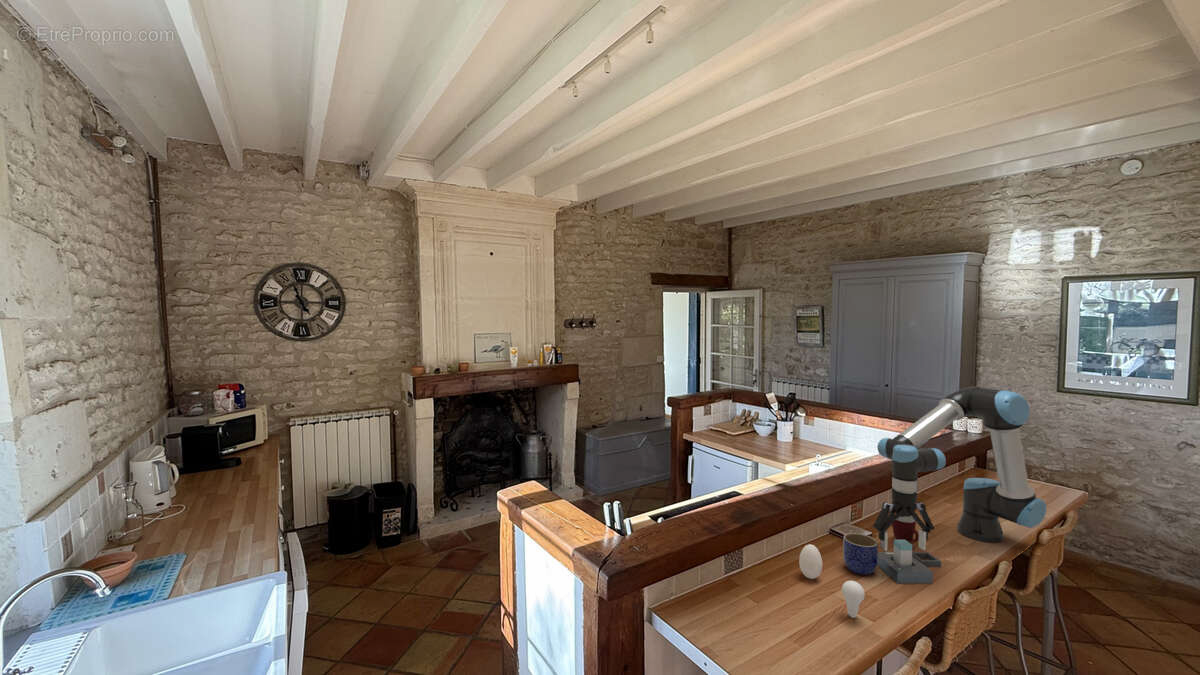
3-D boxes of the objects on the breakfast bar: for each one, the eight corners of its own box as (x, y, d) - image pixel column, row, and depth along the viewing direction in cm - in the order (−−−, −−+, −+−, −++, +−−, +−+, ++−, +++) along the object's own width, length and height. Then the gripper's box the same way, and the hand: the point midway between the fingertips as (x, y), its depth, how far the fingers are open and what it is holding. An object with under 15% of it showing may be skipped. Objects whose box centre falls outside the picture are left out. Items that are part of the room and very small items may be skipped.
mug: (926, 547, 190) (926, 522, 190) (912, 552, 187) (913, 526, 186) (899, 536, 200) (900, 512, 199) (886, 540, 196) (887, 516, 196)
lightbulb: (837, 611, 150) (837, 577, 149) (855, 610, 150) (856, 576, 150) (848, 624, 144) (849, 588, 143) (868, 623, 144) (869, 587, 144)
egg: (796, 579, 168) (797, 546, 167) (801, 570, 174) (802, 538, 173) (819, 586, 164) (820, 552, 163) (823, 576, 170) (824, 543, 169)
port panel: (906, 562, 179) (906, 550, 179) (932, 583, 165) (932, 570, 165) (873, 562, 179) (874, 551, 179) (897, 583, 165) (897, 571, 165)
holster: (927, 557, 183) (928, 552, 183) (941, 566, 176) (941, 561, 176) (909, 557, 183) (909, 552, 183) (921, 567, 176) (922, 561, 176)
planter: (873, 565, 177) (874, 535, 177) (880, 580, 167) (881, 548, 167) (840, 560, 181) (841, 530, 180) (845, 575, 171) (845, 544, 170)
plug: (904, 569, 174) (905, 539, 174) (911, 575, 170) (912, 544, 170) (893, 569, 174) (893, 539, 174) (900, 575, 170) (900, 544, 170)
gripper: (932, 485, 175) (930, 543, 176) (863, 486, 174) (862, 544, 175) (947, 493, 167) (945, 553, 168) (875, 494, 167) (874, 554, 168)
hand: (902, 548), depth 172 cm, fingers open, 13 cm apart
